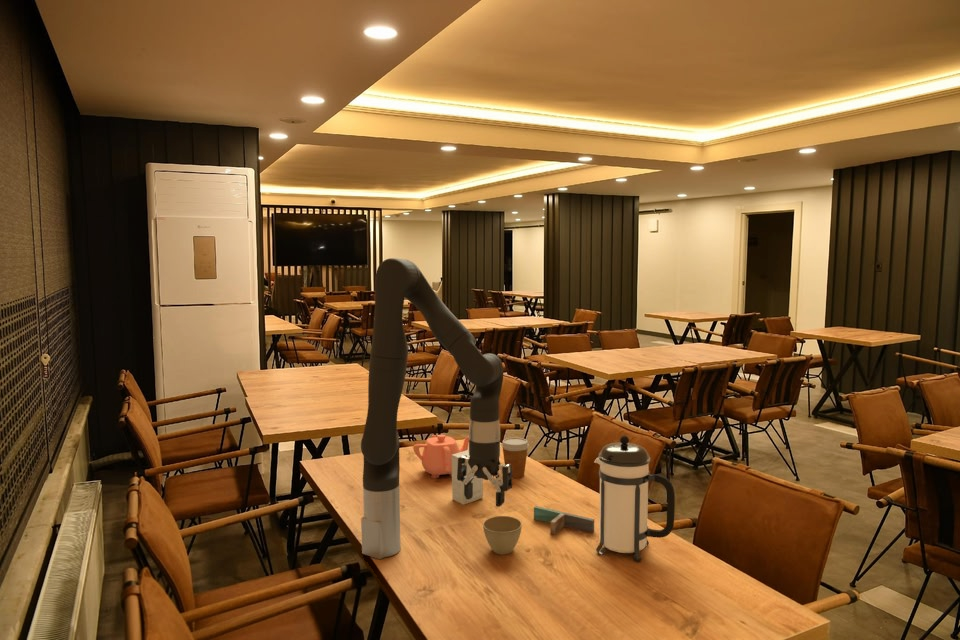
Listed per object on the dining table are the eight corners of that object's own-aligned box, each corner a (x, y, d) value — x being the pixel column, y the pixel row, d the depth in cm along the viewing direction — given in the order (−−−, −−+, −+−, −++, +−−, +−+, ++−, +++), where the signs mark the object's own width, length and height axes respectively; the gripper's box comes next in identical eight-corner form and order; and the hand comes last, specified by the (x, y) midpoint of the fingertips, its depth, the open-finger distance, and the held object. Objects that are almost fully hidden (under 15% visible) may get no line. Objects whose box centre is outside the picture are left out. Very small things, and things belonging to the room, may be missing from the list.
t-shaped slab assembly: (583, 542, 168) (583, 529, 168) (523, 527, 178) (523, 515, 177) (594, 531, 175) (594, 519, 174) (535, 517, 184) (535, 505, 184)
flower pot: (498, 538, 171) (498, 512, 170) (529, 548, 165) (529, 522, 164) (475, 551, 163) (474, 524, 163) (506, 563, 157) (506, 535, 156)
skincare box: (472, 493, 203) (471, 448, 202) (484, 498, 199) (483, 452, 197) (450, 500, 198) (450, 453, 197) (462, 505, 193) (462, 458, 192)
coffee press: (611, 568, 154) (613, 448, 151) (583, 540, 169) (584, 430, 166) (675, 559, 159) (678, 441, 155) (642, 532, 174) (644, 425, 171)
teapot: (433, 462, 234) (432, 426, 232) (474, 469, 227) (474, 432, 225) (410, 476, 219) (410, 438, 218) (454, 484, 212) (454, 444, 211)
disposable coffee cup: (496, 472, 222) (496, 439, 221) (520, 468, 226) (520, 435, 225) (509, 481, 214) (509, 446, 213) (534, 477, 218) (534, 442, 217)
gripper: (451, 436, 154) (451, 501, 155) (502, 445, 146) (502, 513, 148) (467, 429, 160) (467, 491, 162) (517, 437, 153) (517, 503, 154)
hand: (484, 502), depth 155 cm, fingers open, 8 cm apart
